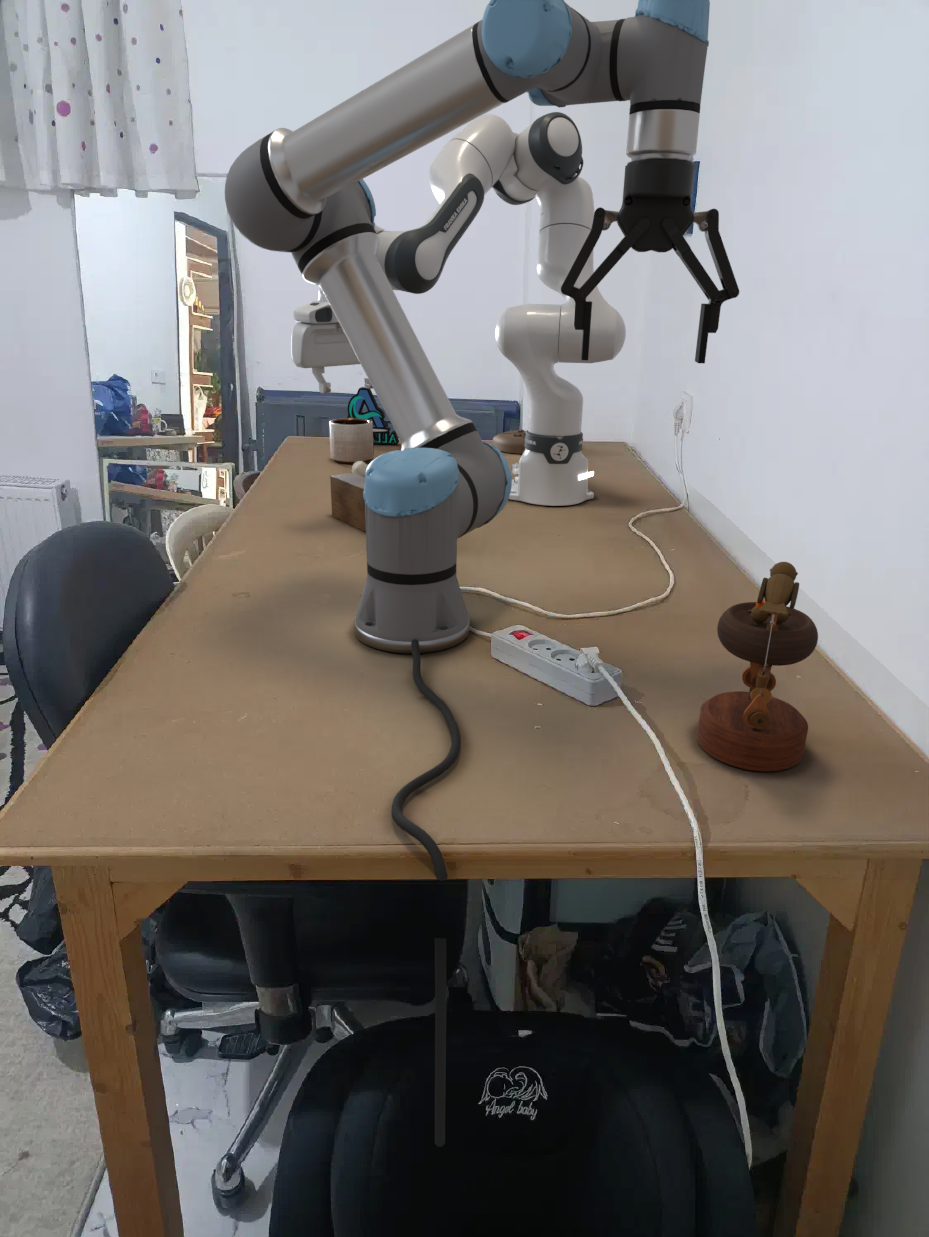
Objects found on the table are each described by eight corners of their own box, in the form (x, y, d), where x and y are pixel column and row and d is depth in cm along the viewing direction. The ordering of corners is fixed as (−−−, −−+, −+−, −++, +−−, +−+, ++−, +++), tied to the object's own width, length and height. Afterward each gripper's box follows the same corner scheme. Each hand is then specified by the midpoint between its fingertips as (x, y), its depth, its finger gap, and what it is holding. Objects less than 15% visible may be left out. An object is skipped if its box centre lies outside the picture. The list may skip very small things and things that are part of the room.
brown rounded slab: (498, 463, 213) (499, 446, 211) (490, 442, 239) (491, 427, 237) (581, 463, 214) (582, 447, 212) (564, 443, 240) (565, 428, 238)
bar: (432, 547, 147) (432, 503, 144) (408, 552, 145) (408, 507, 142) (353, 512, 168) (352, 472, 165) (331, 515, 165) (330, 475, 162)
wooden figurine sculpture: (826, 784, 80) (847, 586, 73) (707, 784, 81) (715, 589, 74) (787, 708, 94) (802, 535, 87) (686, 708, 95) (692, 539, 88)
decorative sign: (399, 443, 236) (398, 387, 230) (398, 444, 233) (397, 389, 228) (332, 441, 237) (329, 386, 231) (330, 442, 234) (327, 387, 229)
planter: (327, 456, 217) (325, 418, 214) (369, 454, 220) (368, 417, 217) (334, 465, 208) (332, 425, 204) (377, 463, 211) (376, 424, 207)
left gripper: (768, 165, 95) (742, 360, 103) (547, 163, 98) (538, 355, 106) (785, 156, 89) (755, 366, 97) (546, 155, 91) (536, 361, 99)
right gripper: (385, 307, 157) (387, 383, 163) (284, 310, 146) (290, 392, 151) (404, 309, 152) (405, 388, 158) (300, 313, 141) (306, 397, 147)
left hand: (641, 361), depth 101 cm, fingers open, 13 cm apart
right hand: (348, 390), depth 155 cm, fingers open, 8 cm apart
